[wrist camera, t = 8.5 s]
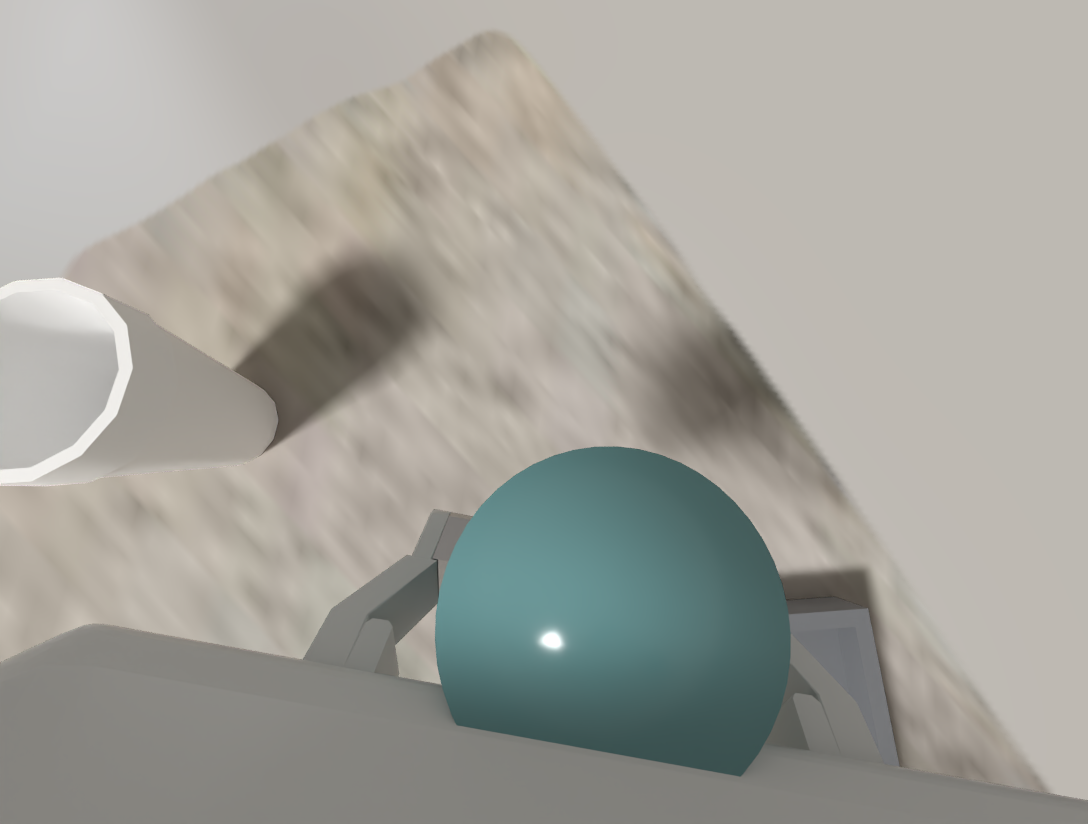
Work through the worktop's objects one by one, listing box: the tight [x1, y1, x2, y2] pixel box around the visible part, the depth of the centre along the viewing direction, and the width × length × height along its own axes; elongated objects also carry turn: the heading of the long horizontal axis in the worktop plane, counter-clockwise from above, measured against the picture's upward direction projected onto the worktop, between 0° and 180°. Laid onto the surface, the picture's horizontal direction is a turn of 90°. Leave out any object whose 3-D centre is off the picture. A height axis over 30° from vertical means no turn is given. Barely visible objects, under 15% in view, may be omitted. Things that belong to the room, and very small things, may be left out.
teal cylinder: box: [435, 447, 791, 777], centre depth 13 cm, size 6×6×11 cm
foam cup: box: [0, 278, 279, 486], centre depth 25 cm, size 10×9×13 cm
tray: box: [786, 597, 900, 767], centre depth 26 cm, size 13×13×3 cm
